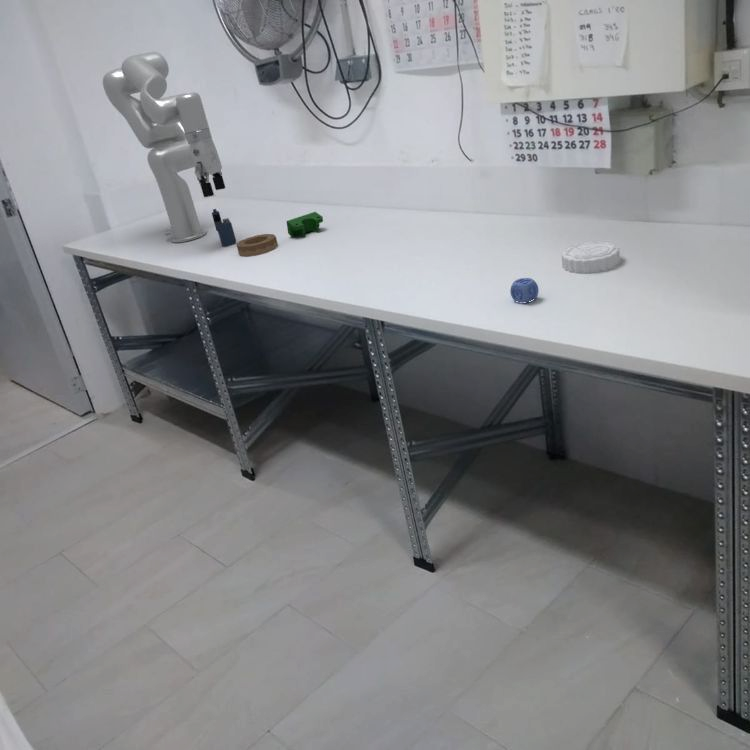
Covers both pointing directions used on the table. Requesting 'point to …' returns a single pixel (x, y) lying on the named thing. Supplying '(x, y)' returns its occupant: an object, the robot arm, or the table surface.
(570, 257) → the mooncake
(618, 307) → the table surface
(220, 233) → the vaping device
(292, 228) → the clamp
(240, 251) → the wooden ring
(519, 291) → the decorative dice
